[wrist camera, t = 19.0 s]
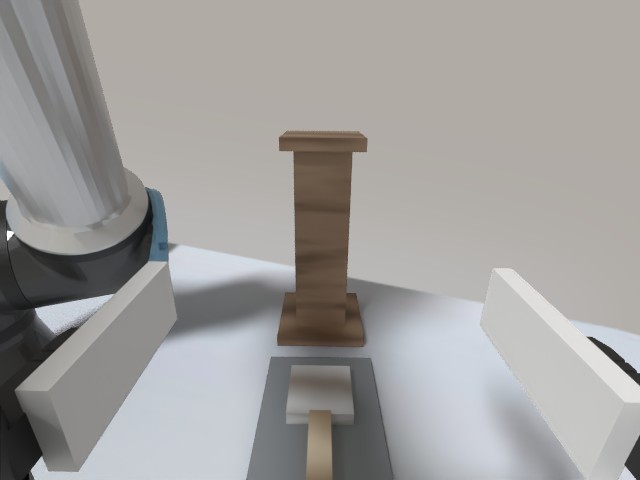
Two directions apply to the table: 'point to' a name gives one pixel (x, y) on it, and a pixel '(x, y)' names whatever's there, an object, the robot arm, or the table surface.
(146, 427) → the table surface
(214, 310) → the table surface
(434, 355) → the table surface
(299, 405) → the bar
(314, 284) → the pedestal
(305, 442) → the mat
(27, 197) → the robot arm
